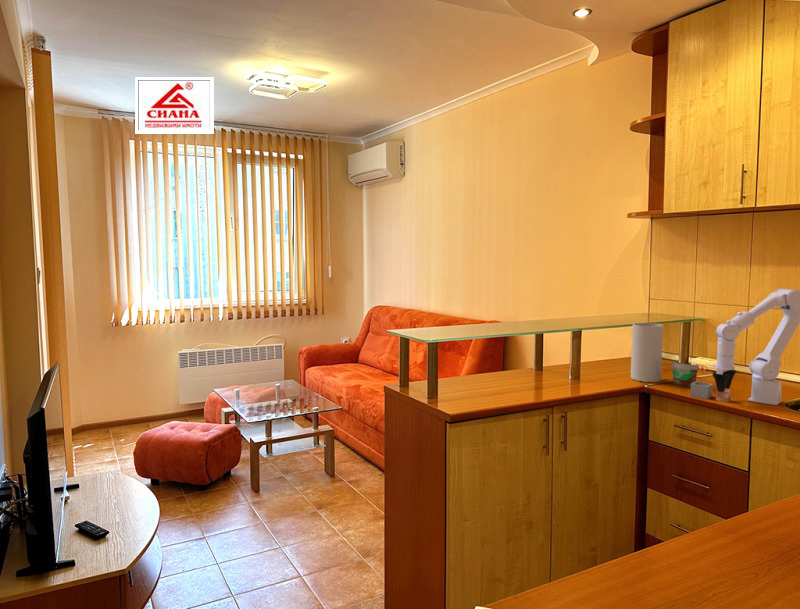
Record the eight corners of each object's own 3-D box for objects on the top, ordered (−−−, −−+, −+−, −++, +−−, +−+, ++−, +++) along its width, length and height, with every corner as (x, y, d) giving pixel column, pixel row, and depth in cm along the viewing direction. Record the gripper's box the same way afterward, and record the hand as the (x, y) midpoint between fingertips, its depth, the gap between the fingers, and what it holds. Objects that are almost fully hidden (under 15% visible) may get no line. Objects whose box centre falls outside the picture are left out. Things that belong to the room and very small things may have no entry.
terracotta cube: (730, 400, 214) (731, 390, 214) (727, 402, 212) (728, 392, 211) (718, 398, 217) (719, 388, 217) (716, 400, 214) (716, 390, 214)
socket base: (712, 396, 220) (712, 383, 220) (707, 399, 216) (707, 386, 216) (695, 393, 225) (695, 381, 224) (690, 396, 220) (690, 384, 220)
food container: (663, 383, 243) (664, 360, 242) (674, 382, 245) (675, 359, 244) (687, 389, 232) (688, 365, 231) (698, 388, 234) (699, 364, 233)
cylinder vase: (655, 377, 255) (657, 323, 253) (665, 383, 243) (667, 326, 240) (627, 376, 256) (628, 322, 254) (635, 382, 244) (637, 326, 242)
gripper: (719, 351, 221) (717, 385, 222) (708, 356, 210) (706, 391, 212) (739, 353, 216) (737, 388, 217) (729, 358, 206) (727, 394, 207)
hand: (723, 389), depth 214 cm, fingers open, 7 cm apart
